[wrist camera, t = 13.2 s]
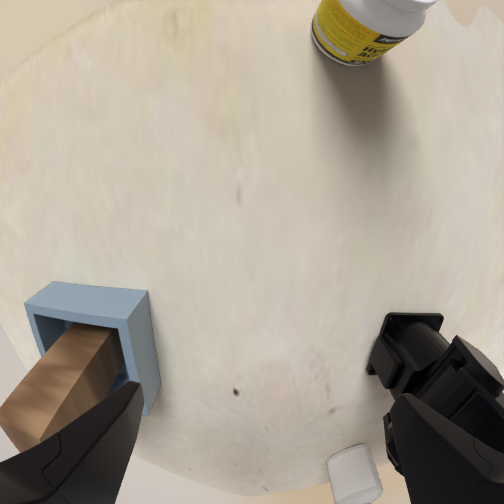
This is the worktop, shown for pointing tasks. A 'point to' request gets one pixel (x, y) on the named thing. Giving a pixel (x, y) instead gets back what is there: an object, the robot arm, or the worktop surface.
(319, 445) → the worktop surface
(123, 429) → the robot arm
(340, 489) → the eye dropper bottle
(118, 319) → the holder
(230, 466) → the worktop surface
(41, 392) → the upright wooden block
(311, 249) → the worktop surface
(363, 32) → the supplement bottle
